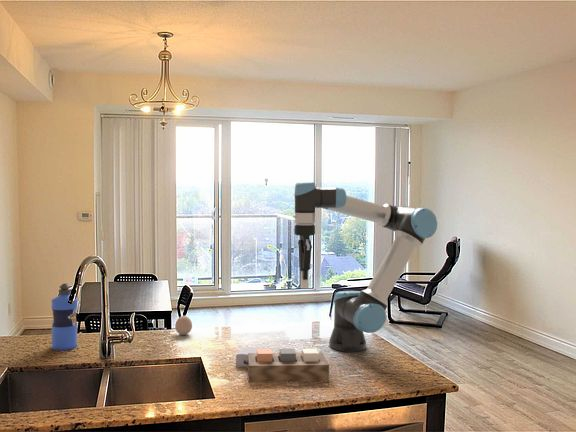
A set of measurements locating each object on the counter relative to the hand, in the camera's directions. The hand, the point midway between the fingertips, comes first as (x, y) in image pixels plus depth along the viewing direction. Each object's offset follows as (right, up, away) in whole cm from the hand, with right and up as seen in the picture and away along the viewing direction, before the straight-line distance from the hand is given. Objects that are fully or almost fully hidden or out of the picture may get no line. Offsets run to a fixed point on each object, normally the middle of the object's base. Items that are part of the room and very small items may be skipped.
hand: (304, 287), depth 191 cm
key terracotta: (-14, -26, -12) cm, 32 cm away
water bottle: (-94, -25, +12) cm, 98 cm away
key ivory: (+2, -27, -11) cm, 29 cm away
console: (-6, -29, -11) cm, 31 cm away
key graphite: (-6, -26, -11) cm, 29 cm away
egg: (-51, -25, +33) cm, 66 cm away
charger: (-19, -28, +2) cm, 34 cm away
